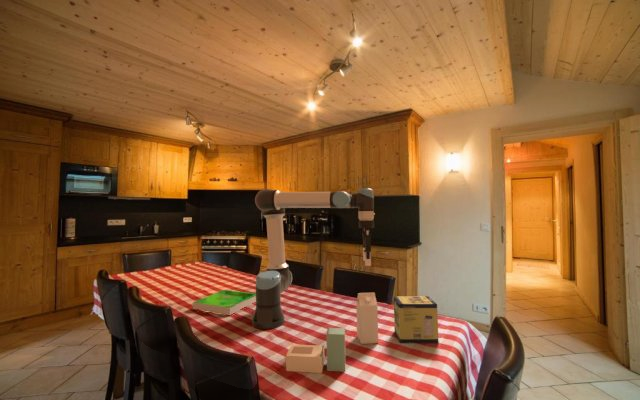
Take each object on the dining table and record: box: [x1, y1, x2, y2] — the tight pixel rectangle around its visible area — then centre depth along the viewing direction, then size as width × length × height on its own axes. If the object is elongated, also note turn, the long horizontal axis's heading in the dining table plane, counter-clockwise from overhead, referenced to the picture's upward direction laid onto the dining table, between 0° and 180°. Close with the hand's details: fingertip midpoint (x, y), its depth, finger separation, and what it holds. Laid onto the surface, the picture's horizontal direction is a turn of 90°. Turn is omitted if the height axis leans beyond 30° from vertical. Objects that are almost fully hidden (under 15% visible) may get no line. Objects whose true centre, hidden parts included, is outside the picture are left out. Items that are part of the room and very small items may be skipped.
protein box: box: [393, 295, 439, 344], centre depth 117 cm, size 10×16×16 cm
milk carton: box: [355, 292, 379, 345], centre depth 115 cm, size 7×7×19 cm
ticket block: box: [285, 343, 325, 374], centre depth 97 cm, size 12×8×5 cm, turn 83°
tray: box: [192, 289, 256, 315], centre depth 160 cm, size 25×25×5 cm
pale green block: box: [326, 327, 346, 372], centre depth 96 cm, size 6×5×12 cm
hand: (366, 263), depth 138 cm, fingers open, 13 cm apart
